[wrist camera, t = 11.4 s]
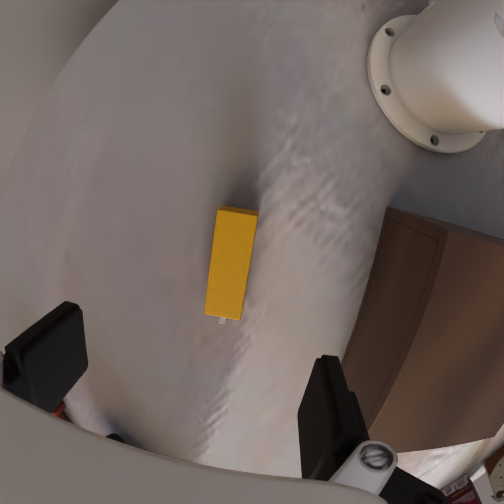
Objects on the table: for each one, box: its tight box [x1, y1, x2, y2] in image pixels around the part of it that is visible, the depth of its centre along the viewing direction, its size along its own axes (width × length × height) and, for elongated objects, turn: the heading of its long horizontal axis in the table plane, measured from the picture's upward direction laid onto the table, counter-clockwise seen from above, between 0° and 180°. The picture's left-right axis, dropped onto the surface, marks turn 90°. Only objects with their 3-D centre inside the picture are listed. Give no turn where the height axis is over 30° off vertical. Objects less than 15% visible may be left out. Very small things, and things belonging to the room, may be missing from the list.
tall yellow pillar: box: [204, 206, 259, 324], centre depth 23 cm, size 9×3×2 cm, turn 171°
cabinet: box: [341, 207, 504, 453], centre depth 20 cm, size 16×17×10 cm
